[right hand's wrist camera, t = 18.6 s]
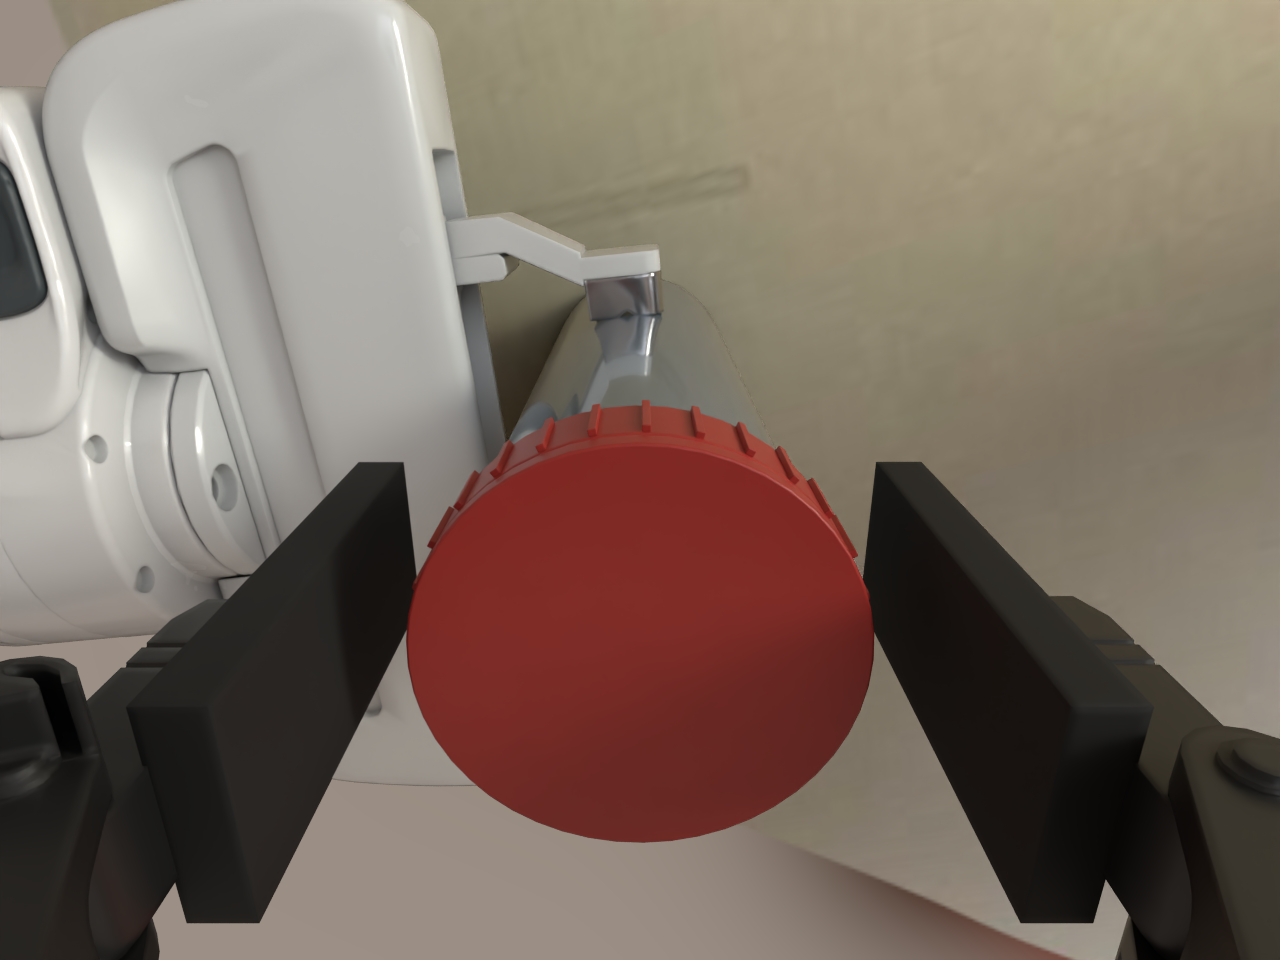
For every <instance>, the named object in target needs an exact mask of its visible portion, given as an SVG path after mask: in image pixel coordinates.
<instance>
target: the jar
mask: <svg viewBox="0 0 1280 960" xmlns="http://www.w3.org/2000/svg"><path fill="white" fill-rule="evenodd" d="M662 290H663V302H664V312H661V313H658V314H653V315H647V316H643V315H633V314H631V313H630V312H628V311H626V312H625V313H624V314H622V315H621V316H620V317H618V318H614V319H609V320H599V321H590V317H589V310H588V303H587V296H585V297H584V298H583V299H582V300H581V301H580V302H579V303H578V304H577V305H576V307H575V308H574V309H573V310H572V312H571V313H570V315H569V316H568V318H567V320H566V322H565V323H564V325H563V327H562V330H561V332H560V334H559V336H558V338H557V340H556V342H555V344H554V346H553V348H552V350H551V353H550V355H549V357H548V359H547V361H546V363H545V365H544V367H543V369H542V371H541V373H540V375H539V378H538V380H537V382H536V384H535V386H534V388H533V390H532V392H531V394H530V396H529V398H528V401H527V403H526V405H525V407H524V409H523V411H522V413H521V415H520V417H519V419H518V421H517V424H516V426H515V428H514V430H513V432H512V434H511V436H510V438H509V440H510V441H511V442H512V443H513V444H515V443H516V442H517V441H519V440H520V439H522V438H523V437H525V436H526V435H528V434H530V433H532V432H534V431H536V430H538V429H540V428H542V427H543V424H544V421H545V420H546V419H548V418H550V417H552V418H553V420H554V422H556V421H559V420H562V419H564V418H567V417H570V416H573V415H576V414H579V413H584V412H589V411H591V408H592V405H594V404H600V406H601V409H603V408H609V407H622V406H634V405H640V406H642V400H650V406H661V407H670V408H676V409H682V410H687V411H690V410H691V406H696V407H699V408H700V412H701V414H704V415H707V416H710V417H713V418H716V419H720V420H723V421H725V422H727V423H729V424H731V425H734V426H736V425H737V423H738V422H741V423H743V424H745V425H746V428H747V430H748V432H749V433H750V434H752V435H753V436H755V437H757V438H758V439H760V440H761V441H763V442H764V443H766V444H768V445H769V446H771V447H772V448H773V449H775V447H774V444H773V442H772V440H771V438H770V436H769V434H768V432H767V430H766V428H765V426H764V424H763V422H762V420H761V417H760V415H759V413H758V411H757V409H756V407H755V405H754V403H753V401H752V399H751V397H750V395H749V393H748V390H747V388H746V386H745V384H744V382H743V380H742V378H741V376H740V374H739V372H738V370H737V368H736V366H735V363H734V361H733V359H732V357H731V355H730V353H729V351H728V349H727V347H726V345H725V343H724V341H723V339H722V336H721V334H720V332H719V330H718V328H717V326H716V324H715V322H714V320H713V318H712V317H711V315H710V314H709V312H708V311H707V309H706V308H705V307H704V306H703V305H702V304H701V303H700V301H699V300H698V299H696V298H695V297H694V296H693V295H692V294H690V293H689V292H688V291H686V290H684V289H683V288H681V287H680V286H677V285H675V284H673V283H671V282H668V281H665V280H662ZM775 450H776V449H775Z"/></svg>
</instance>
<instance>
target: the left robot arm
mask: <svg viewBox="0 0 1280 960" xmlns="http://www.w3.org/2000/svg"><path fill="white" fill-rule="evenodd" d="M518 259H520V260H522V261H524V262H527V263H529V264H531V265H534V266H536V267H538V268H541V269H543V270H545V271H548V272H550V273H552V274H555V275H557V276H559V277H562V278H564V279H566V280H569V281H571V282H573V283H576V284H578V285H580V286H583V287H584V285H585V290H586V296H587V303H588V310H589V317H590V321H599V320H609V319H614V318H618V317H620V316H621V315H622V314H624V313H625V312H626V311H628V312H630V313H631V314H633V315H643V316H647V315H653V314H658V313H661V312H664V302H663V290H662V278H661V267H660V256H659V247H658V245H656V244H643V245H634V246H624V247H615V248H606V249H596V250H587V251H586V248H585V245H583V244H581V243H579V242H577V241H574V240H572V239H570V238H568V237H566V236H563V235H561V234H559V233H557V232H555V231H553V230H550V229H548V228H546V227H544V226H542V225H540V224H537V223H535V222H533V221H531V220H529V219H527V218H524V217H522V216H520V215H518V214H516V213H514V212H505V213H496V214H487V215H478V216H469V217H468V214H467V208H466V202H465V196H464V191H463V185H462V179H461V173H460V168H459V162H458V156H457V150H456V145H455V139H454V133H453V127H452V121H451V116H450V110H449V104H448V98H447V93H446V87H445V81H444V75H443V69H442V63H441V57H440V52H439V46H438V41H437V38H436V35H435V32H434V31H433V29H432V27H431V26H430V24H429V23H428V22H427V21H426V20H425V19H424V18H423V17H421V16H420V15H419V14H418V13H417V12H416V11H415V10H414V9H412V8H411V7H410V6H409V5H408V4H407V3H406V2H405V1H403V0H179V1H175V2H172V3H169V4H165V5H162V6H159V7H156V8H153V9H149V10H146V11H143V12H140V13H137V14H134V15H131V16H128V17H125V18H122V19H120V20H117V21H115V22H112V23H110V24H107V25H105V26H103V27H101V28H99V29H97V30H95V31H93V32H91V33H90V34H88V35H87V36H85V37H84V38H82V39H81V40H79V41H78V42H77V43H76V44H74V45H73V46H72V47H71V48H70V49H69V50H68V51H67V52H66V53H65V54H64V55H63V56H62V58H61V59H60V60H59V61H58V63H57V64H56V66H55V68H54V69H53V71H52V73H51V75H50V77H49V80H48V82H47V85H46V87H17V86H0V646H27V645H39V644H49V643H60V642H71V641H82V640H93V639H104V638H115V637H130V636H141V635H151V634H157V633H158V632H159V631H160V630H161V629H162V628H163V627H164V626H165V625H166V624H167V623H168V622H169V621H170V620H171V619H173V618H174V617H176V616H178V615H180V614H182V613H183V612H185V611H187V610H189V609H191V608H192V607H194V606H196V605H198V604H200V603H201V602H203V601H205V600H207V599H229V598H230V597H231V596H232V595H233V594H234V593H235V592H236V591H237V589H238V588H239V587H240V586H241V585H242V584H243V583H244V582H245V581H246V580H247V579H248V578H249V577H250V576H251V575H252V574H253V573H254V572H255V571H256V570H257V568H258V567H259V566H260V565H261V564H262V563H263V562H264V561H265V560H266V559H267V558H268V557H269V556H270V555H271V554H272V553H273V552H274V551H275V550H276V548H277V547H278V546H279V545H280V544H281V543H282V542H283V541H284V540H285V539H286V538H287V537H288V536H289V535H290V534H291V533H292V532H293V531H294V530H295V528H296V527H297V526H298V525H299V524H300V523H301V522H302V521H303V520H304V519H305V518H306V517H307V516H308V515H309V514H310V513H311V512H312V511H313V510H314V509H315V507H316V506H317V505H318V504H319V503H320V502H321V501H322V500H323V499H324V498H325V497H326V496H327V495H328V494H329V493H330V492H331V491H332V490H333V489H334V487H335V486H336V485H337V484H338V483H339V482H340V481H341V480H342V479H343V478H344V477H345V476H346V475H347V474H348V473H349V472H350V471H351V470H352V469H353V467H354V466H355V465H356V464H357V463H358V462H404V469H405V478H406V486H407V495H408V504H409V513H410V521H411V530H412V539H413V548H414V556H415V565H416V574H417V575H418V573H419V572H420V570H421V568H422V566H423V564H424V562H425V561H426V559H427V557H428V555H429V553H430V551H431V550H432V549H431V548H429V547H427V545H428V543H429V541H430V539H431V537H432V535H433V534H434V532H435V530H436V528H437V527H438V525H439V523H440V521H441V519H442V518H443V516H444V514H445V512H446V511H447V509H448V507H449V506H450V507H452V508H454V507H453V505H454V504H455V502H456V500H457V498H458V496H459V495H460V493H461V491H462V489H463V487H464V485H465V484H466V482H467V480H468V478H469V476H470V475H471V474H472V472H473V471H474V470H475V471H477V472H478V473H479V474H480V472H481V471H482V470H483V469H484V468H485V467H486V466H487V465H488V464H490V463H491V462H492V461H493V460H494V459H495V458H496V457H497V456H498V455H499V453H500V450H501V448H502V446H503V444H504V443H505V442H507V439H506V433H505V427H504V422H503V416H502V410H501V404H500V398H499V393H498V387H497V381H496V375H495V370H494V364H493V358H492V352H491V346H490V341H489V335H488V329H487V323H486V318H485V312H484V306H483V300H482V295H481V289H480V283H484V282H492V281H501V280H503V279H505V278H506V277H507V276H508V275H509V274H511V273H512V272H513V271H514V270H515V269H516V268H517V267H518V266H519V260H518ZM454 509H455V508H454ZM406 634H407V630H406V632H405V634H404V636H403V638H402V640H401V642H400V644H399V646H398V648H397V650H396V652H395V654H394V656H393V658H392V660H391V662H390V664H389V666H388V668H387V670H386V672H385V674H384V676H383V678H382V680H381V682H380V684H379V686H378V688H377V690H376V692H375V694H374V696H373V698H372V700H371V702H370V704H369V706H368V708H367V710H366V712H365V714H364V716H363V718H362V720H361V722H360V724H359V726H358V728H357V730H356V732H355V734H354V736H353V738H352V740H351V742H350V744H349V746H348V748H347V750H346V752H345V754H344V756H343V758H342V760H341V762H340V764H339V766H338V768H337V770H336V772H335V774H334V776H333V778H332V779H335V780H342V781H350V782H359V783H374V784H389V785H413V786H476V784H474V783H473V782H472V781H471V780H469V779H468V778H467V777H466V775H465V774H464V773H463V772H462V771H461V770H460V769H459V768H458V767H457V766H456V765H455V764H454V763H453V762H452V761H451V760H450V759H449V757H448V756H447V754H446V753H445V752H444V750H443V749H442V748H441V746H440V745H439V744H438V742H437V741H436V740H435V738H434V736H433V734H432V733H431V731H430V729H429V727H428V725H427V724H426V722H425V720H424V718H423V716H422V713H421V711H420V708H419V706H418V703H417V700H416V698H415V695H414V692H413V688H412V683H411V679H410V674H409V670H408V663H407V648H406Z"/></svg>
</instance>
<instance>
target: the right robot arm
mask: <svg viewBox="0 0 1280 960" xmlns="http://www.w3.org/2000/svg"><path fill="white" fill-rule="evenodd" d="M416 577H417V574H416V565H415V556H414V548H413V539H412V530H411V521H410V513H409V504H408V495H407V486H406V478H405V469H404V462H358V463H357V464H356V465H355V466H354V467H353V469H352V470H351V471H350V472H349V473H348V474H347V475H346V476H345V477H344V478H343V479H342V480H341V481H340V482H339V483H338V484H337V485H336V486H335V487H334V489H333V490H332V491H331V492H330V493H329V494H328V495H327V496H326V497H325V498H324V499H323V500H322V501H321V502H320V503H319V504H318V505H317V506H316V507H315V509H314V510H313V511H312V512H311V513H310V514H309V515H308V516H307V517H306V518H305V519H304V520H303V521H302V522H301V523H300V524H299V525H298V526H297V527H296V528H295V530H294V531H293V532H292V533H291V534H290V535H289V536H288V537H287V538H286V539H285V540H284V541H283V542H282V543H281V544H280V545H279V546H278V547H277V548H276V550H275V551H274V552H273V553H272V554H271V555H270V556H269V557H268V558H267V559H266V560H265V561H264V562H263V563H262V564H261V565H260V566H259V567H258V568H257V570H256V571H255V572H254V573H253V574H252V575H251V576H250V577H249V578H248V579H247V580H246V581H245V582H244V583H243V584H242V585H241V586H240V587H239V588H238V589H237V591H236V592H235V593H234V594H233V595H232V596H231V597H230V598H229V599H207V600H205V601H203V602H201V603H200V604H198V605H196V606H194V607H192V608H191V609H189V610H187V611H185V612H183V613H182V614H180V615H178V616H176V617H174V618H173V619H171V620H170V621H169V622H168V623H167V624H166V625H165V626H164V627H163V628H162V629H161V630H160V631H159V632H158V633H157V634H155V635H154V636H153V637H152V638H151V639H150V640H149V641H148V642H147V647H146V648H141V649H140V650H139V651H138V652H137V653H136V654H135V655H134V656H133V657H132V658H131V659H130V660H129V661H128V662H127V663H126V664H127V665H126V668H120V669H119V670H118V671H117V672H116V673H115V674H114V675H113V676H112V677H111V678H110V679H109V680H108V681H107V682H106V683H105V684H104V685H103V686H102V687H101V688H100V689H99V690H98V691H97V692H95V693H94V694H93V695H92V696H91V697H90V698H89V699H88V700H87V701H86V698H85V694H84V691H83V688H82V685H81V681H80V678H79V675H78V671H77V668H76V667H75V666H74V665H72V664H70V663H69V662H67V661H66V660H64V659H61V658H52V657H44V656H36V657H26V658H17V659H9V660H5V661H2V662H0V960H159V952H160V951H159V944H158V938H157V932H156V929H155V926H154V922H153V919H152V917H153V915H154V914H155V912H156V911H157V909H158V908H159V906H160V905H161V903H162V902H163V900H164V898H165V897H166V895H167V894H168V892H169V891H170V889H171V888H172V886H173V885H174V883H176V887H177V890H178V894H179V897H180V901H181V904H182V908H183V912H184V915H185V919H186V922H187V923H260V921H261V919H262V917H263V915H264V913H265V911H266V909H267V907H268V905H269V903H270V901H271V899H272V897H273V895H274V893H275V891H276V889H277V887H278V885H279V883H280V881H281V879H282V877H283V875H284V873H285V871H286V869H287V867H288V865H289V863H290V861H291V859H292V857H293V855H294V853H295V851H296V849H297V847H298V845H299V843H300V841H301V839H302V837H303V835H304V833H305V831H306V829H307V827H308V825H309V823H310V821H311V819H312V817H313V815H314V813H315V811H316V809H317V807H318V805H319V803H320V801H321V799H322V797H323V796H324V794H325V792H326V790H327V788H328V786H329V784H330V782H331V780H332V778H333V776H334V774H335V772H336V770H337V768H338V766H339V764H340V762H341V760H342V758H343V756H344V754H345V752H346V750H347V748H348V746H349V744H350V742H351V740H352V738H353V736H354V734H355V732H356V730H357V728H358V726H359V724H360V722H361V720H362V718H363V716H364V714H365V712H366V710H367V708H368V706H369V704H370V702H371V700H372V698H373V696H374V694H375V692H376V690H377V688H378V686H379V684H380V682H381V680H382V678H383V676H384V674H385V672H386V670H387V668H388V666H389V664H390V662H391V660H392V658H393V656H394V654H395V652H396V650H397V648H398V646H399V644H400V642H401V640H402V638H403V636H404V634H405V632H406V630H407V622H408V613H409V609H410V605H411V601H412V597H413V593H414V590H413V589H412V587H413V583H414V581H415V579H416ZM863 581H864V584H865V586H866V588H867V590H868V592H869V595H870V599H869V602H870V606H871V612H872V620H873V628H874V632H875V634H876V636H877V638H878V640H879V642H880V644H881V646H882V648H883V650H884V652H885V654H886V656H887V658H888V660H889V662H890V664H891V666H892V668H893V670H894V672H895V674H896V676H897V678H898V680H899V682H900V684H901V686H902V688H903V690H904V692H905V694H906V696H907V698H908V700H909V702H910V704H911V706H912V708H913V710H914V712H915V714H916V716H917V718H918V720H919V722H920V724H921V726H922V728H923V730H924V732H925V734H926V736H927V738H928V740H929V742H930V744H931V746H932V748H933V750H934V752H935V754H936V756H937V758H938V760H939V762H940V764H941V766H942V768H943V770H944V772H945V774H946V776H947V778H948V780H949V782H950V784H951V786H952V788H953V790H954V792H955V794H956V796H957V798H958V799H959V801H960V803H961V805H962V807H963V809H964V811H965V813H966V815H967V817H968V819H969V821H970V823H971V825H972V827H973V829H974V831H975V833H976V835H977V837H978V839H979V841H980V843H981V845H982V847H983V849H984V851H985V853H986V855H987V857H988V859H989V861H990V863H991V865H992V867H993V869H994V871H995V873H996V875H997V877H998V879H999V881H1000V883H1001V885H1002V887H1003V889H1004V891H1005V893H1006V895H1007V897H1008V899H1009V901H1010V903H1011V905H1012V907H1013V909H1014V911H1015V913H1016V915H1017V917H1018V919H1019V921H1020V923H1093V922H1094V919H1095V915H1096V912H1097V908H1098V904H1099V901H1100V897H1101V894H1102V890H1103V887H1104V883H1105V880H1107V882H1108V883H1109V885H1110V886H1111V888H1112V889H1113V891H1114V893H1115V894H1116V896H1117V897H1118V899H1119V900H1120V902H1121V903H1122V905H1123V906H1124V908H1125V909H1126V911H1127V912H1128V914H1129V916H1128V919H1127V922H1126V926H1125V929H1124V932H1123V936H1122V939H1121V942H1120V945H1119V949H1118V952H1117V955H1116V959H1115V960H1280V739H1278V738H1275V737H1272V736H1269V735H1265V734H1262V733H1259V732H1255V731H1252V730H1249V729H1244V728H1236V727H1227V726H1223V725H1222V724H1221V723H1220V722H1219V721H1218V720H1217V719H1216V718H1215V717H1214V716H1213V715H1212V714H1211V713H1210V712H1208V711H1207V710H1206V709H1205V708H1204V707H1203V706H1202V705H1201V704H1200V703H1199V702H1198V701H1197V700H1196V699H1195V698H1194V697H1193V696H1192V695H1191V694H1190V693H1189V692H1188V691H1187V690H1186V689H1185V688H1183V687H1182V686H1181V685H1180V684H1179V683H1178V682H1177V681H1176V680H1175V679H1174V678H1173V677H1172V676H1171V675H1170V674H1169V673H1168V672H1167V671H1166V670H1165V669H1164V668H1163V667H1162V666H1161V665H1155V663H1154V659H1153V658H1152V657H1151V656H1150V655H1149V654H1148V653H1147V652H1146V651H1145V650H1144V649H1143V648H1142V647H1141V646H1140V645H1134V640H1133V639H1132V638H1131V637H1130V636H1129V635H1128V634H1127V633H1126V632H1125V631H1124V630H1123V629H1122V628H1121V627H1120V626H1119V625H1118V624H1117V623H1116V622H1115V621H1114V620H1113V619H1112V618H1110V617H1109V616H1108V615H1106V614H1104V613H1102V612H1100V611H1099V610H1097V609H1095V608H1093V607H1091V606H1090V605H1088V604H1086V603H1084V602H1082V601H1081V600H1079V599H1077V598H1075V597H1073V596H1048V595H1047V594H1046V593H1045V592H1044V591H1043V589H1042V588H1041V587H1040V586H1039V585H1038V584H1037V583H1036V582H1035V581H1034V580H1033V579H1032V578H1031V577H1030V576H1029V575H1028V574H1027V573H1026V572H1025V571H1024V570H1023V568H1022V567H1021V566H1020V565H1019V564H1018V563H1017V562H1016V561H1015V560H1014V559H1013V558H1012V557H1011V556H1010V555H1009V554H1008V553H1007V552H1006V551H1005V550H1004V548H1003V547H1002V546H1001V545H1000V544H999V543H998V542H997V541H996V540H995V539H994V538H993V537H992V536H991V535H990V534H989V533H988V532H987V531H986V530H985V528H984V527H983V526H982V525H981V524H980V523H979V522H978V521H977V520H976V519H975V518H974V517H973V516H972V515H971V514H970V513H969V512H968V511H967V510H966V509H965V507H964V506H963V505H962V504H961V503H960V502H959V501H958V500H957V499H956V498H955V497H954V496H953V495H952V494H951V493H950V492H949V491H948V490H947V489H946V487H945V486H944V485H943V484H942V483H941V482H940V481H939V480H938V479H937V478H936V477H935V476H934V475H933V474H932V473H931V472H930V471H929V470H928V469H927V468H926V466H925V465H924V464H923V463H922V462H876V469H875V478H874V486H873V495H872V504H871V513H870V521H869V530H868V539H867V548H866V556H865V565H864V574H863Z"/></svg>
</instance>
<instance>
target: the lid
mask: <svg viewBox="0 0 1280 960" xmlns="http://www.w3.org/2000/svg"><path fill="white" fill-rule="evenodd" d="M453 507H454V508H455V509H454V508H452V507H450V506H449V507H448V509H447V511H446V512H445V514H444V516H443V518H442V519H441V521H440V523H439V525H438V527H437V528H436V530H435V532H434V534H433V535H432V537H431V539H430V541H429V543H428V545H427V547H429V548H431V549H432V550H431V551H430V553H429V555H428V557H427V559H426V561H425V562H424V564H423V566H422V568H421V570H420V572H419V573H418V575H417V577H416V579H415V581H414V583H413V587H412V589H413V590H414V593H413V597H412V601H411V605H410V609H409V613H408V622H407V634H406V648H407V663H408V670H409V674H410V679H411V683H412V688H413V692H414V695H415V698H416V700H417V703H418V706H419V708H420V711H421V713H422V716H423V718H424V720H425V722H426V724H427V725H428V727H429V729H430V731H431V733H432V734H433V736H434V738H435V740H436V741H437V742H438V744H439V745H440V746H441V748H442V749H443V750H444V752H445V753H446V754H447V756H448V757H449V759H450V760H451V761H452V762H453V763H454V764H455V765H456V766H457V767H458V768H459V769H460V770H461V771H462V772H463V773H464V774H465V775H466V777H467V778H468V779H469V780H471V781H472V782H473V783H474V784H476V785H477V786H478V787H479V788H481V789H482V790H483V791H484V792H486V793H487V794H488V795H489V796H491V797H492V798H494V799H495V800H497V801H499V802H500V803H502V804H503V805H505V806H507V807H508V808H510V809H511V810H513V811H515V812H517V813H519V814H521V815H523V816H525V817H527V818H529V819H532V820H534V821H536V822H538V823H541V824H544V825H546V826H549V827H552V828H555V829H557V830H560V831H563V832H567V833H572V834H576V835H580V836H584V837H588V838H594V839H602V840H609V841H616V842H642V843H645V842H661V841H673V840H679V839H685V838H691V837H697V836H701V835H705V834H709V833H712V832H716V831H720V830H723V829H726V828H729V827H731V826H734V825H736V824H739V823H742V822H744V821H747V820H749V819H751V818H753V817H755V816H757V815H759V814H761V813H763V812H765V811H767V810H769V809H771V808H773V807H774V806H776V805H777V804H779V803H780V802H782V801H783V800H785V799H786V798H788V797H789V796H791V795H792V794H794V793H795V792H796V791H798V790H799V789H800V788H801V787H802V786H803V785H805V784H806V783H807V782H808V781H809V780H810V779H812V778H813V777H814V776H815V775H816V774H817V773H818V772H819V771H820V770H821V769H822V767H823V766H824V765H825V764H826V763H827V762H828V761H829V760H830V759H831V758H832V756H833V755H834V754H835V753H836V751H837V750H838V748H839V747H840V745H841V744H842V742H843V741H844V740H845V738H846V737H847V735H848V734H849V732H850V730H851V728H852V726H853V724H854V722H855V720H856V718H857V716H858V714H859V712H860V710H861V707H862V704H863V701H864V698H865V695H866V692H867V689H868V686H869V681H870V676H871V671H872V665H873V659H874V628H873V620H872V612H871V606H870V602H869V599H870V595H869V592H868V590H867V588H866V586H865V584H864V581H863V579H862V577H861V575H860V573H859V570H858V568H857V566H856V564H855V562H854V560H853V558H855V557H857V556H858V554H857V552H856V550H855V548H854V546H853V545H852V543H851V541H850V539H849V538H848V536H847V534H846V532H845V530H844V529H843V527H842V525H841V523H840V522H839V520H838V518H837V516H836V515H834V513H833V512H832V510H831V508H830V506H829V505H828V503H827V501H826V499H825V497H824V496H823V494H822V492H821V490H820V488H819V487H818V485H817V483H816V482H815V480H814V479H813V478H811V479H810V480H808V481H807V480H806V479H805V478H804V477H803V476H802V475H801V474H800V472H799V471H798V470H797V469H796V468H795V467H794V466H793V465H792V463H791V461H790V459H789V457H788V455H787V453H786V451H785V450H784V449H783V448H782V447H780V446H779V447H778V448H777V449H776V450H775V449H773V448H772V447H771V446H769V445H768V444H766V443H764V442H763V441H761V440H760V439H758V438H757V437H755V436H753V435H752V434H750V433H749V432H748V430H747V428H746V425H745V424H743V423H741V422H738V423H737V425H736V426H734V425H731V424H729V423H727V422H725V421H723V420H720V419H716V418H713V417H710V416H707V415H704V414H701V412H700V408H699V407H696V406H691V410H690V411H687V410H682V409H676V408H670V407H661V406H650V400H642V406H640V405H634V406H622V407H609V408H603V409H601V406H600V404H594V405H592V408H591V411H589V412H584V413H579V414H576V415H573V416H570V417H567V418H564V419H562V420H559V421H556V422H554V420H553V418H552V417H550V418H548V419H546V420H545V421H544V424H543V427H542V428H540V429H538V430H536V431H534V432H532V433H530V434H528V435H526V436H525V437H523V438H522V439H520V440H519V441H517V442H516V443H515V444H513V443H512V442H511V441H510V440H508V441H507V442H505V443H504V444H503V446H502V448H501V450H500V453H499V455H498V456H497V457H496V458H495V459H494V460H493V461H492V462H491V463H490V464H488V465H487V466H486V467H485V468H484V469H483V470H482V471H481V472H480V474H479V473H478V472H477V471H475V470H474V471H473V472H472V474H471V475H470V476H469V478H468V480H467V482H466V484H465V485H464V487H463V489H462V491H461V493H460V495H459V496H458V498H457V500H456V502H455V504H454V505H453Z"/></svg>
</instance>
